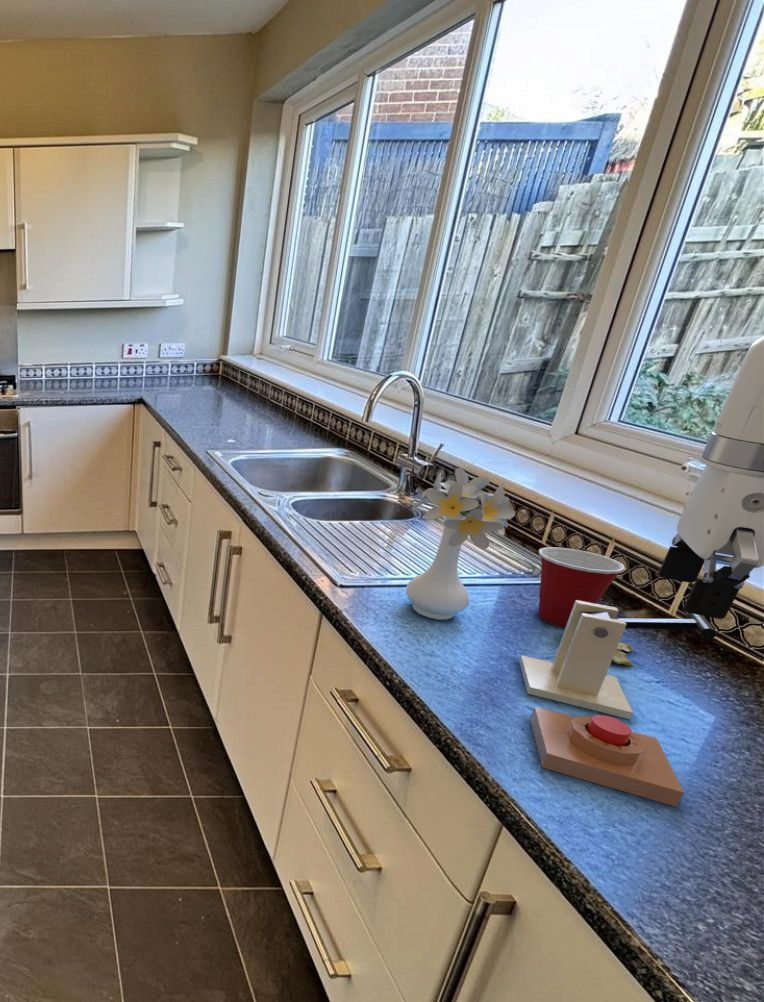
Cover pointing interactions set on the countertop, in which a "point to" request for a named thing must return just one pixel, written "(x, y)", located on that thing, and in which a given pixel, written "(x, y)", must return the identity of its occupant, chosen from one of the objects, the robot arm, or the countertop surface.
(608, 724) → the red button
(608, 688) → the lever bracket
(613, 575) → the plastic cup
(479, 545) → the flower vase
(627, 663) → the fruit
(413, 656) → the countertop surface
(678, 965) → the countertop surface
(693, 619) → the black t-handle lever
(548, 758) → the control block
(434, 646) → the countertop surface
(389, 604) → the countertop surface
